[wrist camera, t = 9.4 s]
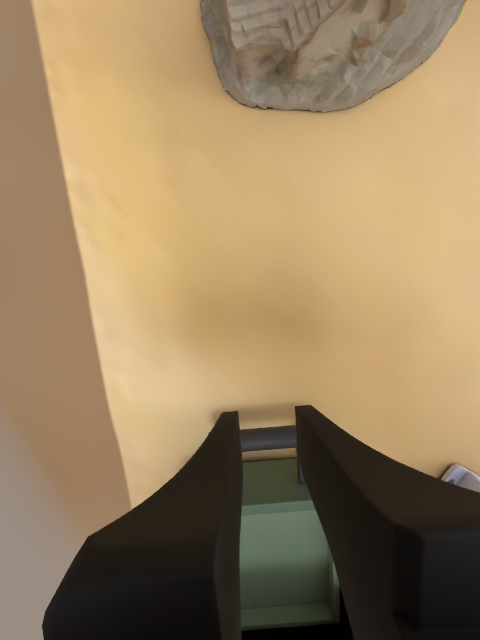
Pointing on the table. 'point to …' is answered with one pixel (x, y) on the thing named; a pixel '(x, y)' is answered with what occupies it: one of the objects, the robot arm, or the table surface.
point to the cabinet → (307, 630)
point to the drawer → (282, 542)
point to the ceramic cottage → (321, 47)
